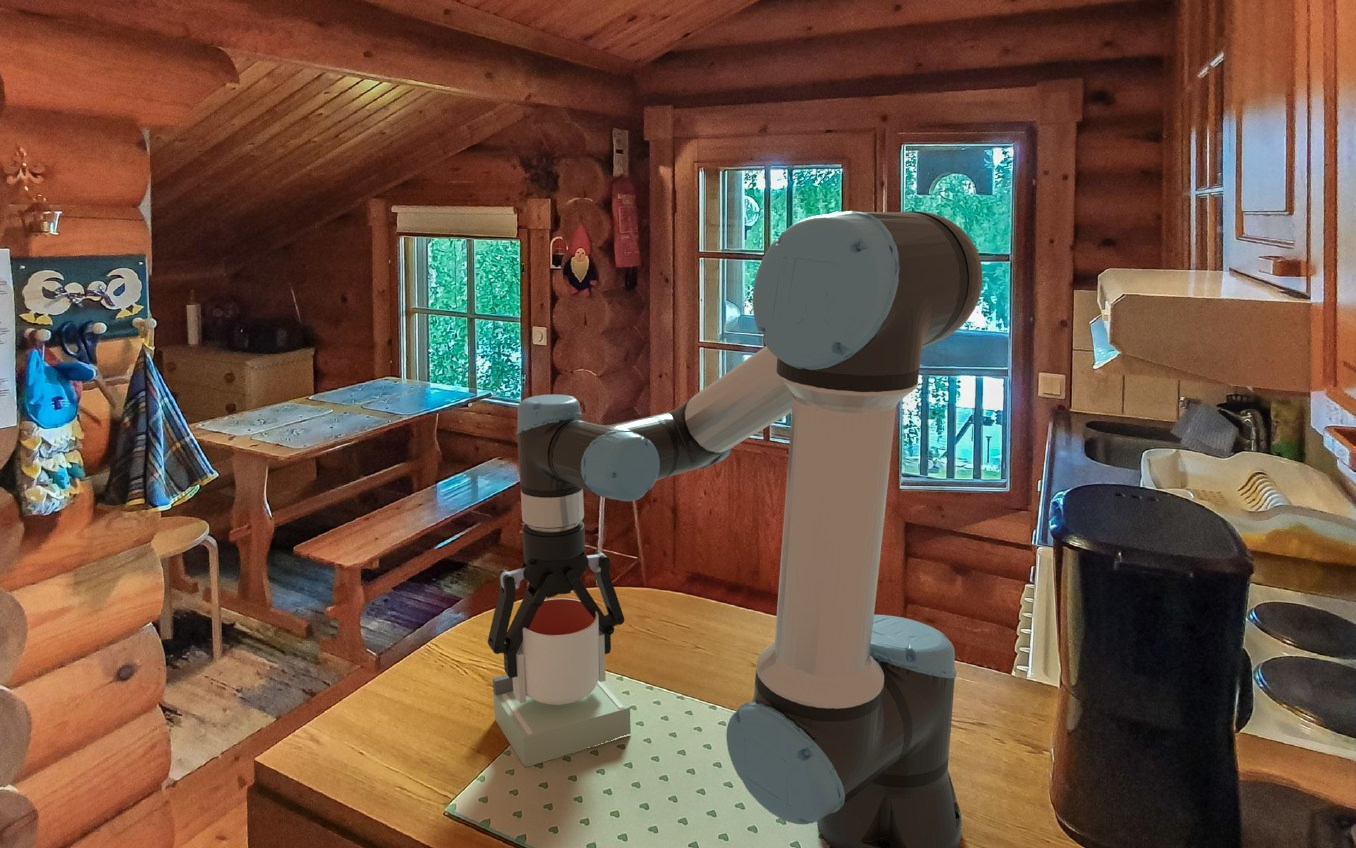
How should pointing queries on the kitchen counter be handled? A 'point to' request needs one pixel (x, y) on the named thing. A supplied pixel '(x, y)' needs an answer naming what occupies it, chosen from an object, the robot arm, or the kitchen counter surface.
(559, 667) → the cup
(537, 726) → the dock
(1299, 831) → the kitchen counter surface
